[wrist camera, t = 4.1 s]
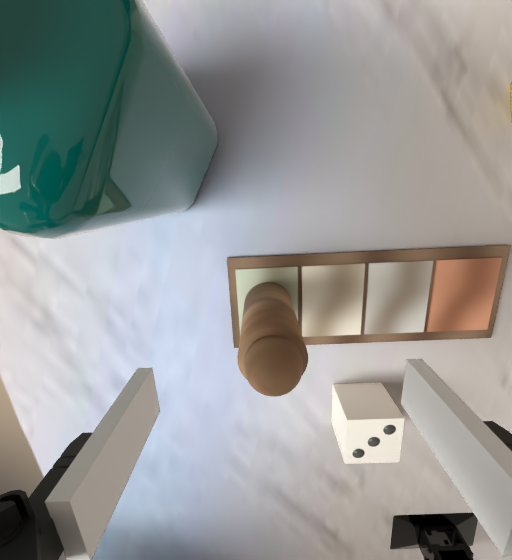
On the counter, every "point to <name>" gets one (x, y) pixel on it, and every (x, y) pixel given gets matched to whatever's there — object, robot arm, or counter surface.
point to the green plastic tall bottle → (94, 119)
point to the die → (366, 423)
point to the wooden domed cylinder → (271, 341)
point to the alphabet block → (511, 100)
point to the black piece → (436, 535)
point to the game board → (380, 292)
